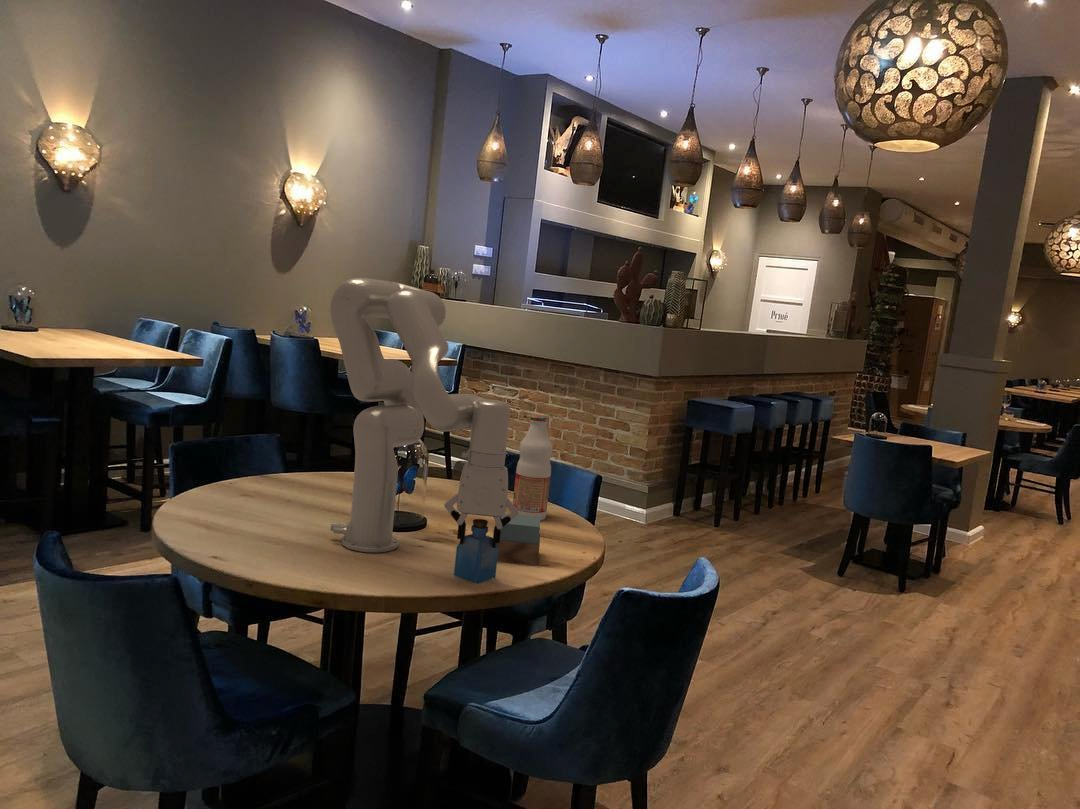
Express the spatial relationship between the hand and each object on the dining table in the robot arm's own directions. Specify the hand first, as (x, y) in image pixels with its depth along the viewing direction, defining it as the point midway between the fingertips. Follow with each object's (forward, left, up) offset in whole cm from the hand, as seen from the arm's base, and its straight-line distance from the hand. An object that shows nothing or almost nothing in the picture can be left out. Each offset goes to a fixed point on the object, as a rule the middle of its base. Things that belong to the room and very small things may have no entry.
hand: (478, 543), depth 178 cm
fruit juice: (+10, +55, -7) cm, 56 cm away
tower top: (+8, +17, -2) cm, 19 cm away
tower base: (+8, +17, -7) cm, 20 cm away
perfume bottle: (0, 0, -7) cm, 7 cm away
